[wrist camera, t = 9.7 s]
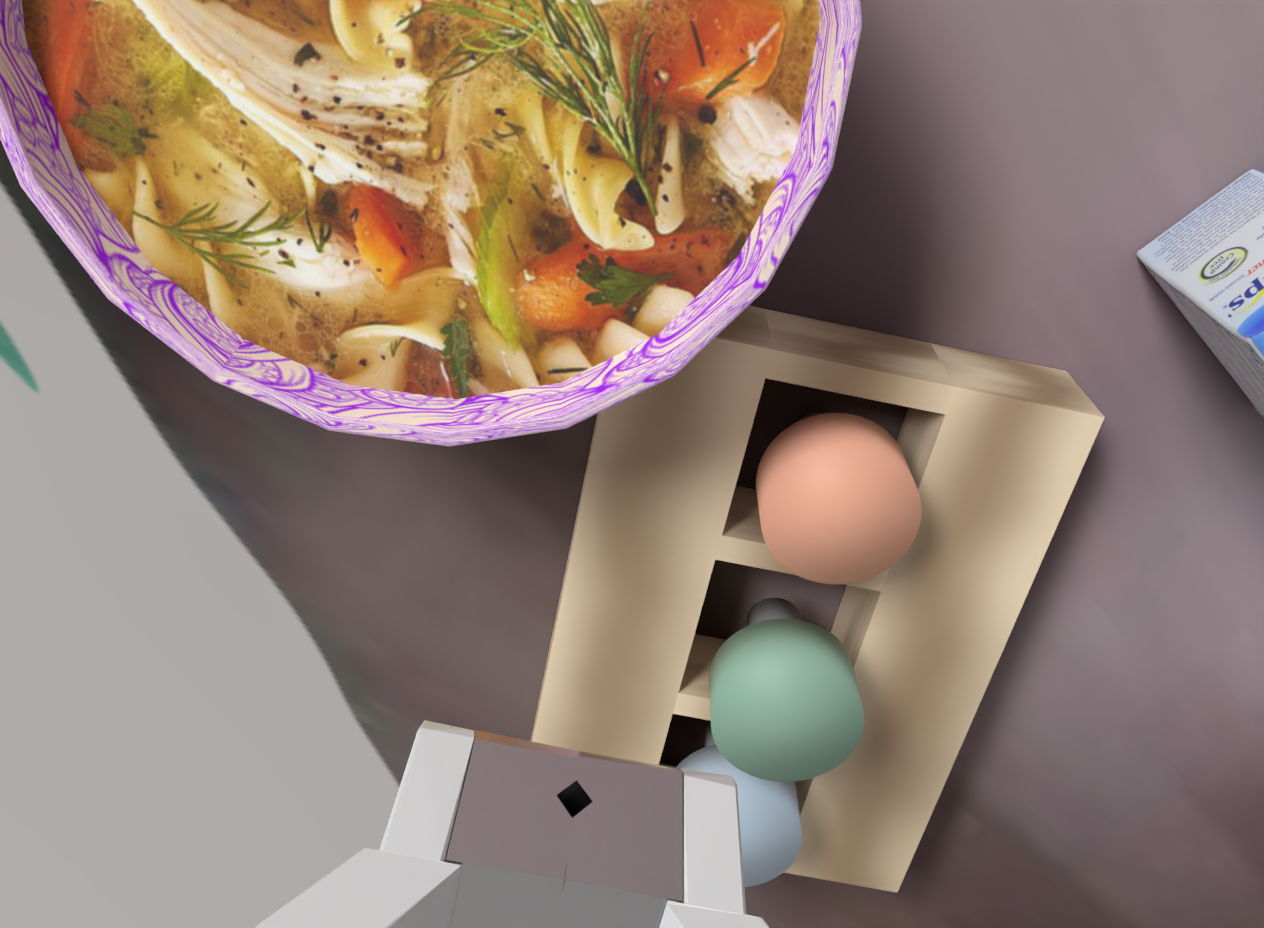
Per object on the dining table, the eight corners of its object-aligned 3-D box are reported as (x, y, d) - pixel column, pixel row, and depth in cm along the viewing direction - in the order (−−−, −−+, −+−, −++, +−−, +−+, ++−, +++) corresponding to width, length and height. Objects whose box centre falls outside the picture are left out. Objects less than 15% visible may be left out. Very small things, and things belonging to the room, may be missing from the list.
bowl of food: (202, -512, 29) (-63, -744, 19) (911, -263, 31) (1027, -348, 21) (138, 210, 38) (-65, 323, 28) (693, 371, 40) (697, 534, 29)
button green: (857, 577, 40) (883, 677, 35) (820, 684, 43) (839, 793, 37) (724, 552, 40) (731, 648, 35) (694, 660, 42) (695, 767, 37)
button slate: (802, 697, 45) (818, 801, 40) (771, 787, 47) (782, 897, 42) (682, 674, 45) (683, 776, 40) (657, 767, 47) (654, 874, 42)
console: (1065, 371, 39) (1104, 417, 36) (881, 821, 49) (897, 892, 45) (624, 280, 38) (618, 318, 35) (527, 756, 48) (515, 824, 45)
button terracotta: (907, 387, 39) (943, 463, 34) (866, 508, 41) (893, 597, 36) (769, 359, 39) (783, 430, 33) (735, 483, 41) (743, 568, 35)
